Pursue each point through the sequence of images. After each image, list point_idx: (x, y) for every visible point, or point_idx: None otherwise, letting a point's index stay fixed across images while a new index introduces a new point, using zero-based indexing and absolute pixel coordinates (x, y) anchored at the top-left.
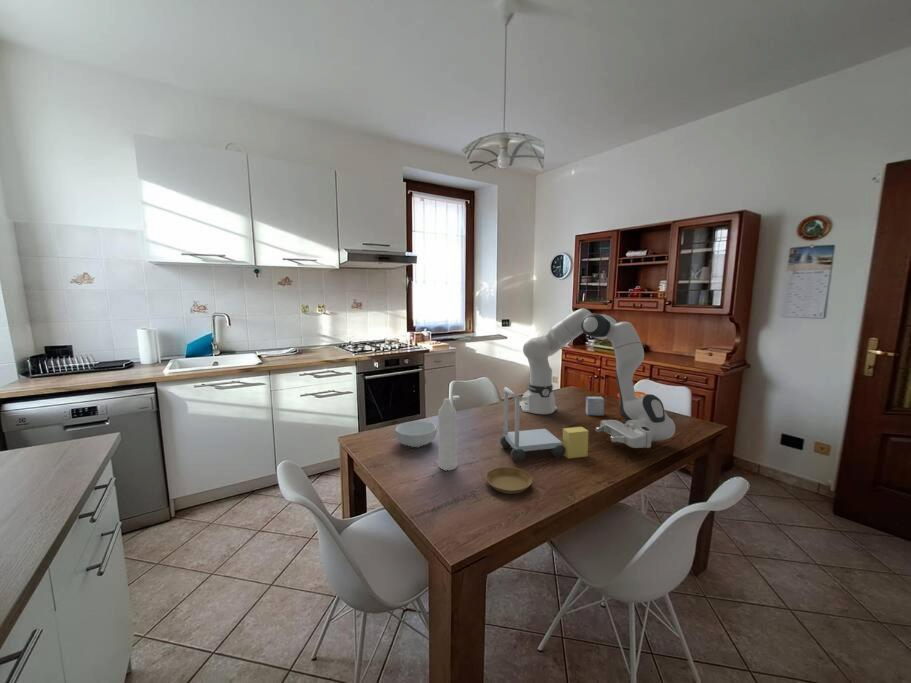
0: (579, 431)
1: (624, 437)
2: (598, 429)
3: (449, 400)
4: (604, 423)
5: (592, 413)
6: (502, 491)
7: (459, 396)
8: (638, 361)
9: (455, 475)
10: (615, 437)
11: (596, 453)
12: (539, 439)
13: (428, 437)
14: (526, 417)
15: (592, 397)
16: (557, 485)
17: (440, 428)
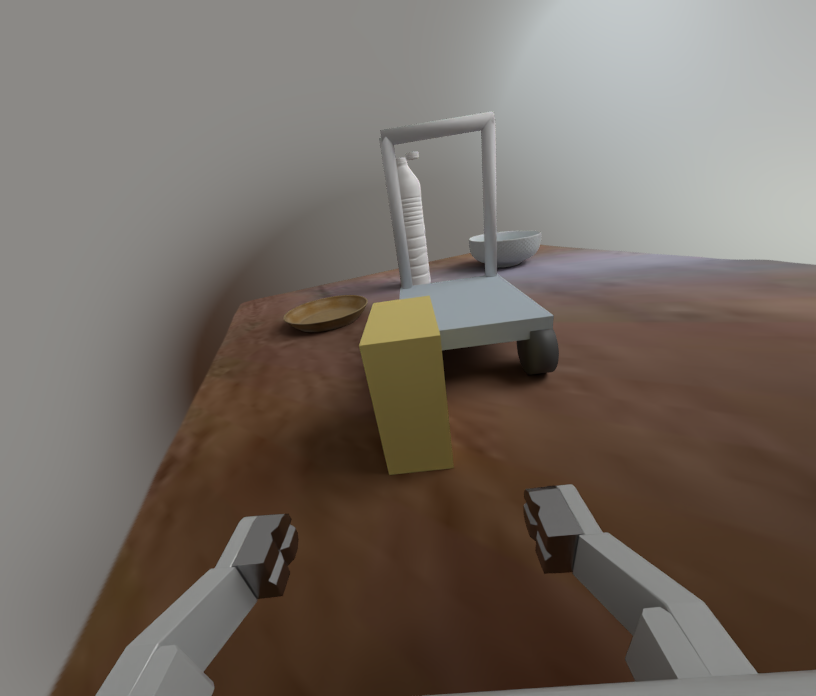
0: (371, 322)
1: (104, 683)
2: (525, 498)
3: (396, 160)
4: (788, 672)
5: None
6: (306, 311)
7: (411, 152)
8: None
9: (387, 290)
10: (228, 545)
11: (410, 542)
12: (436, 306)
13: (477, 248)
14: None
15: None
16: (275, 362)
17: None
